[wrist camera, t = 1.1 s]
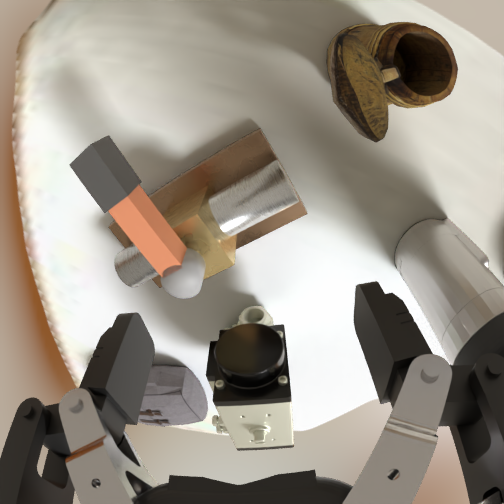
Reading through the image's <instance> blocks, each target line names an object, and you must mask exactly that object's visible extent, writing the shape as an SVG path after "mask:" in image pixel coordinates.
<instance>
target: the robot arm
mask: <svg viewBox="0 0 504 504" xmlns="http://www.w3.org/2000/svg"><path fill="white" fill-rule="evenodd" d="M395 264H396V267H397V269H398V271H399V273H400V275H401V276H402V278H403V280H404V281H405V283H406V284H407V286H408V288H409V289H410V291H411V293H412V294H413V296H414V298H415V299H416V301H417V303H418V305H419V306H420V308H421V310H422V311H423V313H424V315H425V317H426V319H427V320H428V322H429V324H430V326H431V328H432V329H433V331H434V333H435V335H436V337H437V339H438V341H439V343H440V344H441V346H442V348H443V350H444V352H445V354H446V356H447V358H448V360H449V362H450V364H451V365H449V364H448V362H447V361H446V360H445V359H443V358H442V357H440V356H438V355H434V354H433V353H432V352H431V350H430V348H429V346H428V344H427V342H426V341H425V339H424V337H423V335H422V333H421V331H420V330H419V328H418V326H417V324H416V323H415V322H414V319H413V317H412V316H411V314H410V313H409V310H408V309H407V307H406V305H405V304H404V302H403V301H402V300H401V299H400V298H399V297H397V296H396V295H395V294H393V293H389V294H385V293H384V292H383V290H382V288H381V286H380V285H379V283H378V282H377V281H375V282H370V283H364V284H358V285H357V286H356V291H355V307H354V326H355V331H356V334H357V337H358V339H359V342H360V345H361V348H362V350H363V353H364V356H365V359H366V362H367V365H368V367H369V370H370V373H371V376H372V379H373V382H374V385H375V388H376V391H377V394H378V397H379V400H380V403H381V404H384V403H387V402H391V405H392V408H393V410H392V412H391V415H390V417H389V419H388V421H387V423H386V425H385V428H384V430H383V432H382V434H381V436H380V438H379V440H378V442H377V444H376V446H375V448H374V450H373V452H372V454H371V456H370V458H369V460H368V461H367V463H366V465H365V467H364V469H363V470H362V472H361V474H360V476H359V477H358V479H357V481H356V482H355V484H354V486H351V485H349V484H347V483H345V482H342V481H339V480H336V479H332V478H326V477H316V473H315V470H310V471H303V472H296V473H287V474H278V475H274V476H271V477H268V478H265V479H261V480H258V481H254V482H251V483H247V484H243V485H235V484H230V483H225V482H221V481H217V480H212V479H209V478H205V477H189V476H173V475H170V476H169V483H165V484H161V485H159V484H158V483H157V481H156V480H155V479H154V478H153V477H152V476H151V474H150V473H149V472H148V471H147V469H146V468H145V466H144V465H143V463H142V461H141V459H140V457H139V456H138V454H137V452H136V450H135V448H134V447H133V445H132V443H131V441H130V439H129V437H128V435H127V433H126V432H125V431H124V429H125V425H126V424H132V425H137V422H138V418H139V414H140V409H141V405H142V401H143V397H144V393H145V389H146V385H147V381H148V377H149V373H150V370H151V366H152V362H153V358H154V354H155V348H154V343H153V340H152V338H151V336H150V334H149V332H148V330H147V328H146V326H145V324H144V322H143V320H142V318H141V316H140V315H139V314H138V313H125V314H119V315H118V316H117V318H116V320H115V322H114V324H113V326H112V328H108V330H107V331H106V332H105V333H104V334H103V335H102V336H101V338H100V340H99V342H98V344H97V346H96V349H95V351H94V353H93V358H91V360H90V363H89V365H88V367H87V370H86V372H85V374H84V377H83V379H82V382H81V384H80V387H79V388H76V389H73V390H70V391H69V392H67V393H66V394H65V395H64V396H63V398H62V399H61V401H60V403H58V404H53V405H48V406H44V405H43V404H42V403H41V402H40V401H39V400H38V399H37V398H29V399H26V400H25V401H23V402H22V403H21V404H20V406H19V407H18V410H17V412H16V414H15V417H14V420H13V422H12V425H11V428H10V431H9V433H8V437H7V439H6V442H5V446H4V448H3V452H2V455H1V458H0V504H73V497H74V491H76V493H77V496H78V498H79V501H80V503H81V504H412V502H413V500H414V498H415V496H416V494H417V492H418V489H419V487H420V485H421V483H422V480H423V478H424V475H425V473H426V471H427V468H428V466H429V463H430V461H431V458H432V455H433V453H434V450H435V447H436V444H437V440H438V436H437V435H436V432H437V429H438V426H449V427H450V430H451V433H452V436H453V439H454V443H455V446H456V449H457V453H458V456H459V460H460V464H461V467H462V471H463V475H464V479H465V483H466V487H467V491H468V496H469V501H470V504H504V286H503V285H502V284H501V282H500V281H499V280H498V279H497V278H496V277H495V275H494V274H493V273H492V272H491V271H490V270H489V259H488V257H487V256H486V255H485V253H484V252H483V251H482V250H481V249H480V248H479V247H478V246H477V245H476V244H475V243H474V242H473V241H472V240H471V239H470V238H469V237H468V236H467V235H466V234H465V233H464V232H462V231H461V230H460V229H459V228H458V227H457V226H456V225H455V224H454V223H453V222H452V221H451V220H450V219H449V218H446V219H444V220H436V219H428V220H424V221H421V222H419V223H417V224H415V225H414V226H412V227H411V228H410V229H409V230H408V231H407V232H406V233H405V234H404V235H403V237H402V238H401V240H400V241H399V244H398V246H397V248H396V252H395ZM42 445H44V446H45V447H46V448H48V449H49V450H48V454H47V457H46V461H45V465H44V470H43V474H42V477H40V475H39V474H38V471H37V463H38V459H39V455H40V452H41V448H42Z"/></svg>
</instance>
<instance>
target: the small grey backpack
mask: <svg viewBox="0 0 504 504" xmlns="http://www.w3.org/2000/svg"><path fill="white" fill-rule="evenodd" d="M207 411H208V405H207V398H206V394H205V392H204V389H203V387H202V385H201V383H200V381H199V380H198V379H197V377H196V376H195V375H194V373H193V372H192V371H191V370H189V369H188V368H187V367H178V366H169V365H152V366H151V370H150V373H149V377H148V381H147V385H146V389H145V393H144V397H143V401H142V405H141V409H140V414H139V418H138V422H139V423H143V424H146V425H156V426H169V425H183V424H191V423H195V422H200V421H203V420H204V419H205V417H206V415H207Z"/></svg>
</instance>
